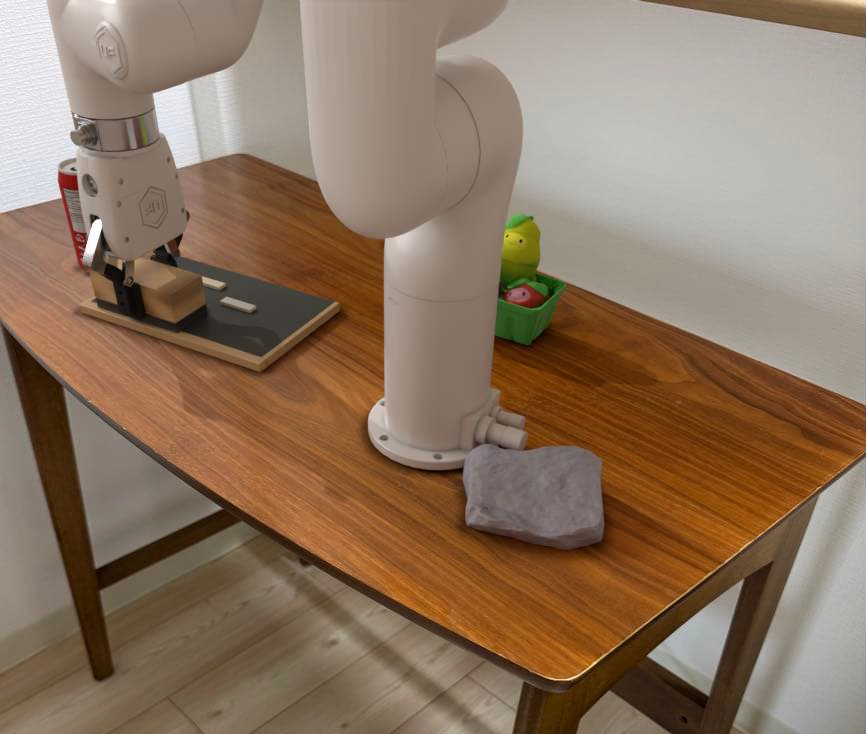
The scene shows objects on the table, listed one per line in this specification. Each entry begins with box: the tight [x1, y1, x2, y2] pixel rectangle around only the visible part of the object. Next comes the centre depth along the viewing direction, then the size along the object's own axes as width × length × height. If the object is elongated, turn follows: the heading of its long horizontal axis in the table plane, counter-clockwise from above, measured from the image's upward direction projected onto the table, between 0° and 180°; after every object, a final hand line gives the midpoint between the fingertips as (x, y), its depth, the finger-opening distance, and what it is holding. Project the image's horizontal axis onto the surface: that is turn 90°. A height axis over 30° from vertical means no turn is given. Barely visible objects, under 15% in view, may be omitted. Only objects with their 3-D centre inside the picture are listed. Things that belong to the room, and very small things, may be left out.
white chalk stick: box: [220, 297, 256, 313], centre depth 99 cm, size 4×1×1 cm, turn 62°
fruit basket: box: [494, 213, 567, 346], centre depth 96 cm, size 11×9×11 cm
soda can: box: [57, 157, 105, 273], centre depth 103 cm, size 6×6×12 cm
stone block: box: [462, 444, 605, 551], centre depth 75 cm, size 12×5×10 cm
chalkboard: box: [78, 255, 341, 373], centre depth 99 cm, size 24×15×1 cm, turn 62°
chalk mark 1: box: [202, 276, 226, 290], centre depth 102 cm, size 4×1×1 cm, turn 62°
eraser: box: [88, 256, 207, 333], centre depth 96 cm, size 11×5×4 cm, turn 62°
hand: (151, 302), depth 97 cm, fingers closed on eraser, 5 cm apart
